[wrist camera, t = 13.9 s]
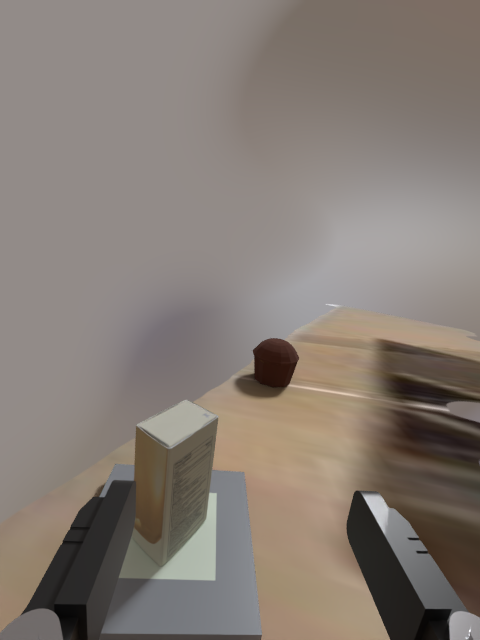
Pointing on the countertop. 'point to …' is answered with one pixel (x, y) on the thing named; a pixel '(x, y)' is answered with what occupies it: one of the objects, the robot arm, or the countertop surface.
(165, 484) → the skincare box
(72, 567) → the robot arm
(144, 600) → the plate
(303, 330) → the countertop surface
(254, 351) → the muffin
